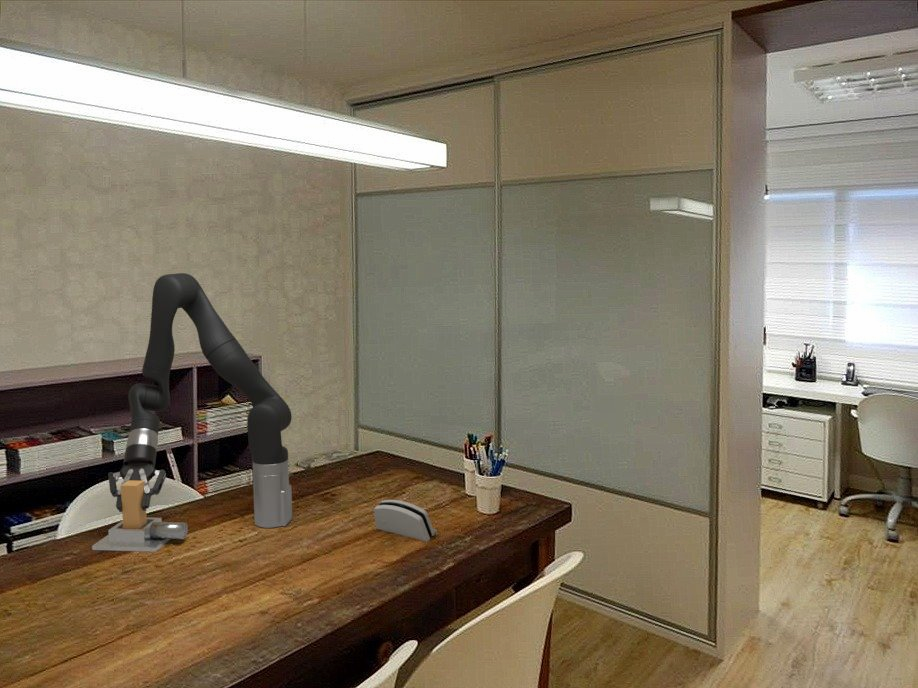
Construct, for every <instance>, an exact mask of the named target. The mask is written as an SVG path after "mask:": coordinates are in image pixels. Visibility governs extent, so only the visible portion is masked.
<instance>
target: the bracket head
mask: <svg viewBox="0 0 918 688" xmlns="http://www.w3.org/2000/svg"><path fill="white" fill-rule="evenodd" d="M146 517H147V516H146ZM188 530H189V528H188V523H187V522H175V521H173V522H171V521H170V522H169V521H168V522H167V521H163V520H162V517H150V516H149V517H147V523H146V524H144V525H143V526H142V527H140V528H139V529H133V528H123V519H122V520H120V521H119V522H118V523H117V524H115V525H114V526H112V527H111V528H110V529H109V528H108V530H107V532H108V534H107V535H105V536H104V537H103V538H102V539H99V540H98V541H97V542H96V543H94V544H93V545H92V546H91V550H92V551H121V552H153V553H154V552H155V553H156V552H158V551H159V550H160V549H161V548H162V547H163V546H165V544H167V543H168V542H169V541H170V540H185V538H186V537H187V535H188Z"/></svg>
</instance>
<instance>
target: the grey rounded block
mask: <svg viewBox="0 0 918 688" xmlns="http://www.w3.org/2000/svg"><path fill="white" fill-rule="evenodd" d="M373 516H374V521H375V529H376V530H380V531H384V532H388V533H391V534H396V535H399V536H403V537H407V538H412V539H414V540H415V539H416V540H419V541H422V542H423V541H424V542H429V541H431V537H433V536H435V537H436V536H438V531H437V529H436V528H434V527H433V525H432V522H431V519H430V517H429V514H428V512H427V511H426V510H425V509H423V508H422V507H420V506H418V505H416V504H413V503H411V502H407V501H403V500H398V499H385V500H381V501H380V502H379V503H378V504H377V505H376V506H375V507H374V509H373Z"/></svg>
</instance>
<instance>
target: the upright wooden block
mask: <svg viewBox="0 0 918 688" xmlns="http://www.w3.org/2000/svg"><path fill="white" fill-rule="evenodd" d="M121 484H122V483H121ZM144 484H145V481H134V480H129V481H127V482H126V483H124V484H122V485H120V487H121V499H122V512H121V514H122V520H123V528H133V529H139V528H140V527H142V526H143V525H144V524H146V523H147V510H146V511H143V510H142V501H143V494H145V490H144V486H145V485H144Z"/></svg>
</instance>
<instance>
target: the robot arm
mask: <svg viewBox="0 0 918 688" xmlns="http://www.w3.org/2000/svg"><path fill="white" fill-rule="evenodd" d="M179 309H181V310H182V309H183V311H184V312H185V313H186V314H187V316H188V317H189V319H190V320H191V321H192V323H193V324H194V326H195V328H196V331H197V336H198V341H199V345H200V349H201V352H202V354H203V356H204V357H205V358H206V361H208V363H209V364H210V366H211V367H212V368H213V370H214V371H215V373H217V374H218V376H220V377H221V378H222V379H224V381H226V382H227V383H229V384H230V385H232V386H233V387H235V388H236V389H237V390H239V391H240V392H241V393H242V394H243V395H244V396H245V397H246V398H247V399H248V401H249V402H250V404H251V405H252V408H251V409H250V411H249V412H248V415H247V423H246V425H247V437H248V441H247V442H248V449H249V452H250V454H251V458H252V483H253V484H252V485H253V509H254V510H253V512H254V514H253V518H254V524H255V526H256V527H260V528H265V529H270V528H271V529H272V528H280V527H286V526H287V525H289V522H291V520H292V519H293V503H292V502H293V494H292V484H290V481H289V479H290V478H289V476H290V474H289V472H290V471H289V451H288V448H287V447H285V446H283V443H282V442H283V441H282V431H284V430H286V429H287V428H289V426H290V424H291V422H292V417H293V415H292V410H291V408H290V406H289V405H288V403H287V402H286V401H285V400H284V399H283V398H282V396H280V394H279V393H278V392H277V391H276V390H275V389H274V387H272V386H271V384H270V383H269V382H268V381H267V380H266V378H265V377H264V376H263V374H262V373H261V371H260V370H259V369H258V367H257V366H256V364H255V363H254V362H253V361H252V360H251V358H250V356H249V355H248V354H247V352H246V351H245V350H244V348H243V346H242V345H241V344H240V342H239V340H238V339H237V338H236V337H235V336H234V335H233V333H232V332H231V330H230V329H229V328H228V326H227V325H226V323H225V322H224V321H223V319H222V318H221V316H220V315H219V314H218V312H217V311H216V310H215V308H214V306H213V304H212V303H211V301H210V300H209V298H208V296H207V294H206V293H205V291H204V289H203V288H202V286H201V284H200V282H198V280H197V279H196V278H195V277H194V276H193V275H191V274H189V273H184V272H180V273H168V274H164V275H162V276H160V277H158V278H157V280H156V281H155V283H154V285H153V290H152V300H151V314H150V316H151V317H150V329H149V330H150V331H149V338H148V344H147V347H146V348H147V349H146V352H145V357H144V360H143V365H142V369H141V373H142V376H143V377H144V378H146V379H148V380H151V381H153V382H155V383H157V384H158V385H155V384H154V385H153V384H149V383H148V384H146V383H135V384H133V385H132V386H131V388H130V389H129V390H128V404H129V409H130V410H129V411H130V415H131V417H130V418H131V419H130V420H131V423H130V428H129V434H128V437H127V441H126V445H125V446H126V447H125V451H124V457H123V458H124V459H123V465H122V467H121V469H120V471H117V472H112V471H110V472H108V474H107V475H108V483H109V491H110V494H111V496H112V497H113V498H116V503H115V508H116V509H117V510H118V512H119V513H122V499H121V485H122V484H124V483H126V482H127V481H129V480H134V481H145V484H144V485H145V486H144V490H145V494H143V501H142V510H143V511H146V512H147V509H149V508H150V507H151V506H150V505H151V497H152V496H154V495H156V496H158V495H159V494H160V492H161V490H162V487H163V486H164V482H165V480H166V478H167V473H166V471H165V470H164V469H160V470H157V469H156V468H155V467H156V460H157V452H158V448H159V444H158V443H159V430H160V425H161V424H160V417H159V416H158V415H157V414H155V413H153V412H159V413H160V412H164V411H165V410H166V409H167V408H168V407H169V405H170V402H171V398H170V397H171V395H170V394H171V393H170V374H171V369H172V366H173V362H174V357H175V349H176V348H175V347H176V346H175V341H174V336H173V335H174V334H173V323H174V320H175V315H176V313H177V312H178V310H179ZM154 477H155V478H156V479H155V481H154V484H153V487H150V484H149V482H150V481H151V480H152V479H153V478H154ZM119 478H122V482H121V485H120V487H119V488H117V482H118V481H119Z"/></svg>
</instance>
